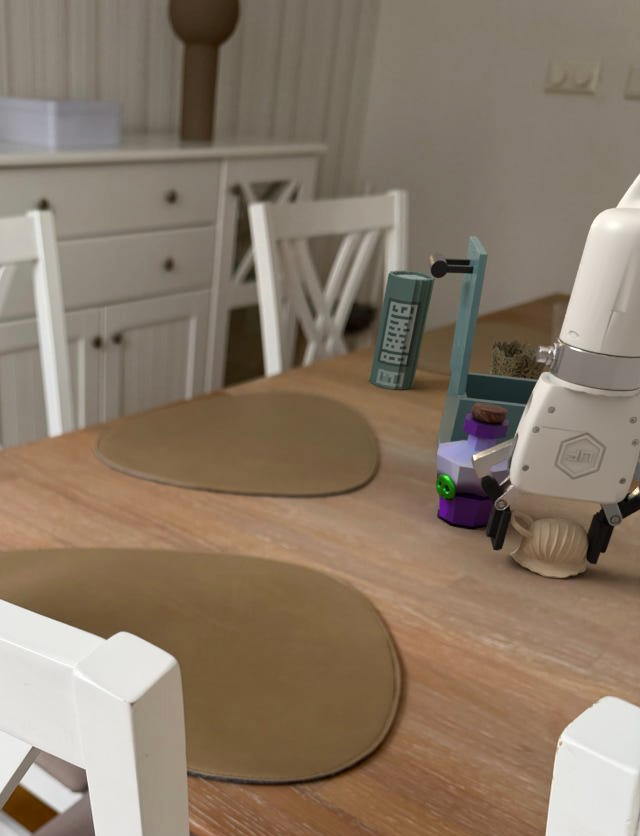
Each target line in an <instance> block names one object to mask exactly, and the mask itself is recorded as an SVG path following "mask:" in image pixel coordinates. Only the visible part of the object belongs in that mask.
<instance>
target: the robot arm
mask: <svg viewBox="0 0 640 836" xmlns="http://www.w3.org/2000/svg"><path fill="white" fill-rule="evenodd" d="M573 283H574V284H573V286H572V291H571V294H570V297H569V301H568V304H567V308H566V312H565V316H564V320H563V323H562V326H561V329H560V333H559V337H556V340H555V342H553V343H552V345H548V346H544V345H542V346H541V345H538V347H539V348H538V350H537V354H536V362H541V363H544V364H545V366H547V367H548V368H549V371H544V372H542V374H541V376H540V378H539V379H538V381H537V383H536V385H535V387H534V389H533V391H532V394H531V396H530V398H529V400H528V403H527V405H526V407H525V410H524V412H523V415H522V418H521V420H520V423H519V425H518V428H517V431H516V434H515V437H514V438H512V439H510V440H508V441H505V442H503V443H501V444H498V445H496V446H494V447H491V448H489V449H487V450H484V451H482V452H480V453H477V454H475V455H473V456H472V458H471V461H472V465H473V468H474V470H475V472H476V475H477V477H478V479H479V482H480V484H481V487H482V489H483V490H484V491H485V493H486V494H487V495H488V497H489V498H490V500H491V501H492V502H493V506H492V510H491V514H490V517H489V521H488V525H487V527H486V530H485V535H486V538H489V539H490V543H491V546H492V550H493V551H501V550H502V549H503V546H504V543H505V540H506V536H507V534H508V533H507V532H508V529H509V525H510V519H511V514H512V513H511V511H512V510H511V505H512V504H513V503H514V502H515V501H517V500H518V499H519V498H520V497H521V496H523V494H526V495H531V496H537V497H543V498H544V497H545V498H553V499H559V500H567V501H574V502H581V503H590V504H597V505H600V509H599V511H596V513H595V514H593V516H592V519H591V521H590V525H589V528H588V531H587V537H588V550H587V558H586V562H588V563H589V564H592V565H597V564H598V561H599V559H600V555H601V554H605V553H606V552H607V549H608V547H609V543H610V540H611V538H612V535H613V532H614V529H615V527H617V526H619V525H621V523H622V522H623V520H624V519H626V518H628V517H630V516H631V515H633V514H635V513H637V512H638V511H640V484H639V485H638V486H637V487H636V488H635V489H634V490H633V491H630V492H629V490H630V487H631V485H632V481H633V478H634V479H636V480H637V482H639V483H640V459H639V456H640V173H639V174H638V175H637V176H636V178H635V179H634V180H633V182H632V184H631V185H630V186H629V188H628V189H627V191H626V192H624V195H623V196H622V197H621V199H620V201H619V202H618V204H617V206H616V207H612V208H607V209H605V210H603V211H601V212H600V213H598V215H597V216H596V217H595V218H594V219H593V221H592V223H591V224H590V228H589V230H588V234H587V237H586V241H585V244H584V248H583V252H582V255H581V258H580V261H579V265H578V269H577V273H576V276H575V280H574V282H573ZM506 459H508V460H507V471H508V472H509V473H510V475H509V476H508V477H507V478H506V479H505V480H503V481H502V482H501V483H500V484H499V483H498V482H497V481H496V479H495V478H494V476H493V475H492V473H491V471H490V468H491V467H492V466H493V465H495V464H497V463H499V462H502V461H504V460H506Z"/></svg>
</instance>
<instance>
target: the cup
mask: <svg viewBox="0 0 640 836" xmlns="http://www.w3.org/2000/svg"><path fill="white" fill-rule="evenodd" d="M530 345H531V344H530V343H529V342H528V341H526V342H525V343H524V344H522V342H520V341H518V340H516V339H515V340H513V341H511V342H510V343H509V342H507V340H503V342H501V341H495V342H494V344H493V345H492V352H491V361H490V369H489V370H490V371H489V374H490V375H499V376H508V377H517V378H526V379H535V380H538V379H539V378H540V376H541V374H542V373H544V372H543V371H544V370H545V367H546V365H545V364H544V363H541V362H536V354H537V350H538V348H539V346H537V347H536V348H535V349H534V348H530V347H531V346H530ZM540 346H543V345H542V344H541V345H540Z"/></svg>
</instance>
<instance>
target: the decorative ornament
mask: <svg viewBox="0 0 640 836" xmlns="http://www.w3.org/2000/svg"><path fill="white" fill-rule="evenodd" d="M511 513H512V514H511V519H510V522H509V524H511V526H512V527H513V528H514V530H516V531H517V532H518V533H519V534H520V535H522V536H521V538H520V542H519V546H518V548H516V549H515V550H513V551H511V552H510V554H509V555H510V556H511V557H512V558H513V559H514V561H515V562H516V563H518V564H520V565H521V566H522V567H523V568H525V569H528V570H529V571H530V572H532V573H535V574H538V575H540V576H542V577H544V578H555V579H565V578H569V577H571V576H578V575H579V574H580V573H585V571H586V570H587V568H588V565H587V563H586V561H587V559H586V558H587V550H588V537H587V534H588V532H587V531H586V529H585V527H584V526H583V525H582V524H581V523H579V522H577V521H574V520H571V519H567V518H562V517H544V518H540V519H538V520H535V521H534V520H533V519H532V517H530V516H529V515H528V514H526V513H525V512H523V511H521V510H516V509H515V510H511ZM516 517H518V518H520V519H521V520H522V521H523V522H524V523H526V524H527V527H526V528H524V527H523V526H521V525H520V524H519V523H518V521H517V520H516Z"/></svg>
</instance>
